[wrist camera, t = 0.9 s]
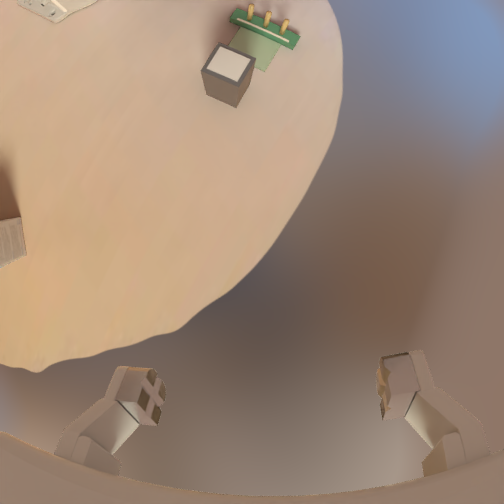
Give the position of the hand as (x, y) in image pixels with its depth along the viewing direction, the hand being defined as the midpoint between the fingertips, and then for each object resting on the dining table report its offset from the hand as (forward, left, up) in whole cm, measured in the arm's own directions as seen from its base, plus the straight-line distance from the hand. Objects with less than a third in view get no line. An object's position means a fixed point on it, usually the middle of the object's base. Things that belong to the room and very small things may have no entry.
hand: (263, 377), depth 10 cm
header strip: (-10, +28, -33) cm, 44 cm away
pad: (-10, +24, -33) cm, 42 cm away
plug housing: (-10, +17, -33) cm, 39 cm away
